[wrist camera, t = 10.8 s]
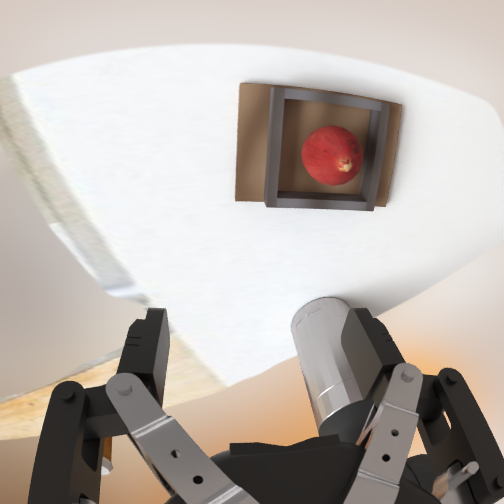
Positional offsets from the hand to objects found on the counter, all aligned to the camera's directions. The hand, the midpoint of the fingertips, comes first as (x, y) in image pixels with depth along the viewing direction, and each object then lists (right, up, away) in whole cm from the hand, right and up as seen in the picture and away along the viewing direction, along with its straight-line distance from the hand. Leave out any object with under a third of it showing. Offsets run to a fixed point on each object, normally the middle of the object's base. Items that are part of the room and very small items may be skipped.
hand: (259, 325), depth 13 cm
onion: (+7, +14, +18) cm, 24 cm away
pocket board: (+7, +15, +19) cm, 25 cm away
